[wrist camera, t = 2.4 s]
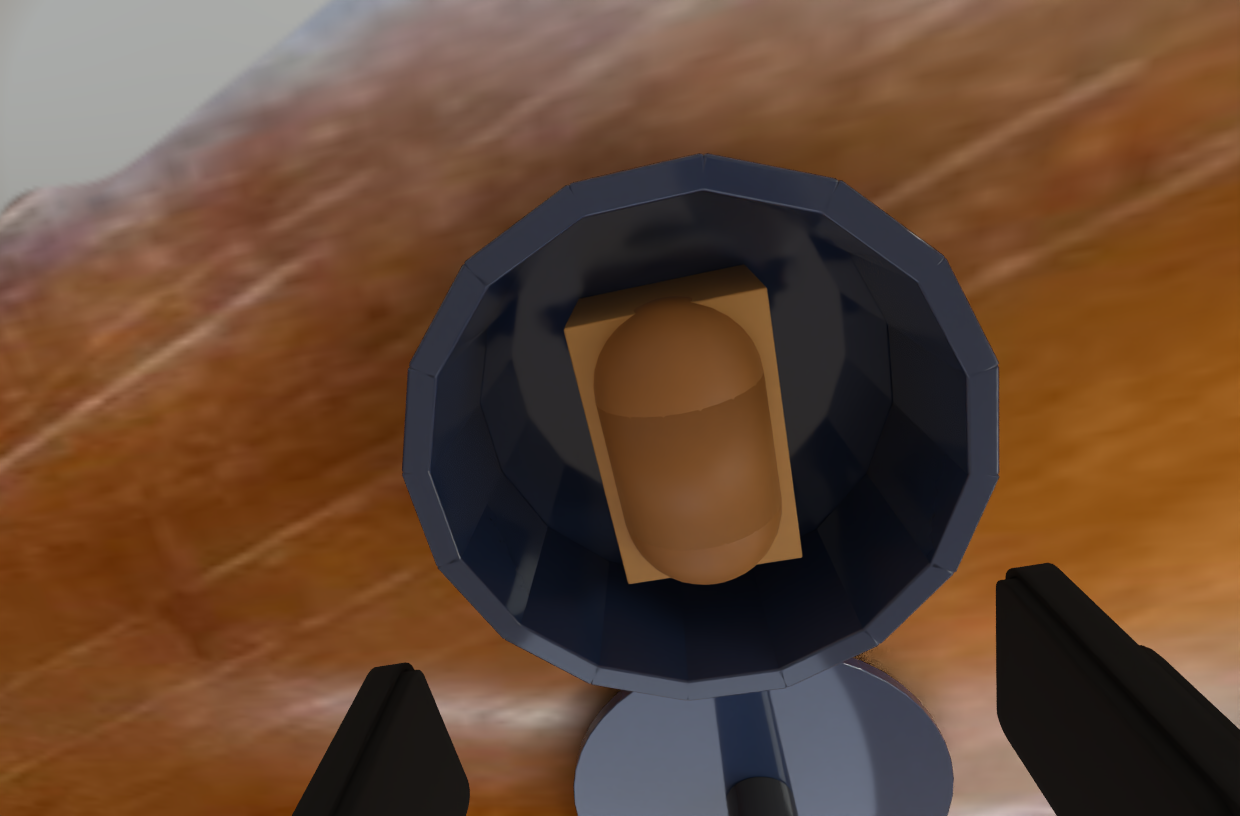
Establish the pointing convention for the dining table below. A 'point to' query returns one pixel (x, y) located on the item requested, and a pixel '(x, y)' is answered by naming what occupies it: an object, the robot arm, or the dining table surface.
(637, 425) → the bread
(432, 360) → the pot
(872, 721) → the lid
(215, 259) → the dining table surface
